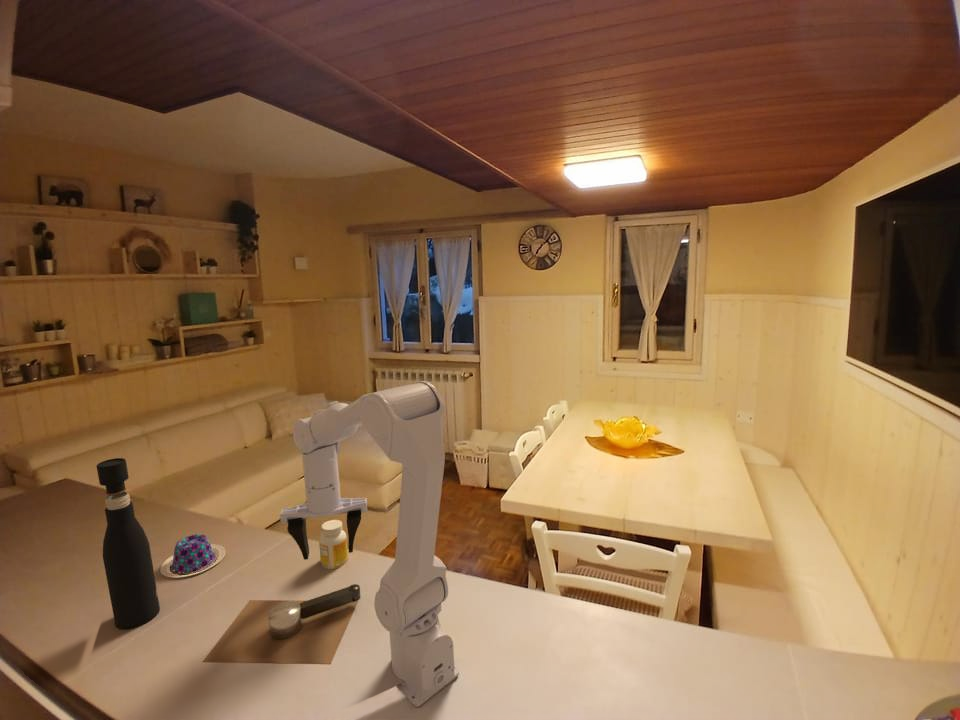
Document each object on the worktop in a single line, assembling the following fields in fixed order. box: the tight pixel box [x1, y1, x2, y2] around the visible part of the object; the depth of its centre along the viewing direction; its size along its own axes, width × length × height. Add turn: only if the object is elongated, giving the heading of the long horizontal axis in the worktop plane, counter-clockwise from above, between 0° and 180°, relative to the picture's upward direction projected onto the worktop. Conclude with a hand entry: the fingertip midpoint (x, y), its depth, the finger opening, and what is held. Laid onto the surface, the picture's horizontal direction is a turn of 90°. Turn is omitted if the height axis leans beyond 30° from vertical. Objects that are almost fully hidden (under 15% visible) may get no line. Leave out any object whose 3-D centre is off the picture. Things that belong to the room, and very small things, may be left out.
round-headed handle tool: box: [268, 583, 361, 639], centre depth 82 cm, size 15×5×3 cm, turn 119°
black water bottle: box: [96, 457, 161, 631], centre depth 81 cm, size 6×6×30 cm
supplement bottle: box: [318, 519, 349, 570], centre depth 98 cm, size 5×5×10 cm
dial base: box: [202, 599, 359, 665], centre depth 80 cm, size 20×14×2 cm
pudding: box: [160, 533, 226, 579], centre depth 102 cm, size 12×12×5 cm
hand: (329, 553), depth 86 cm, fingers open, 7 cm apart
